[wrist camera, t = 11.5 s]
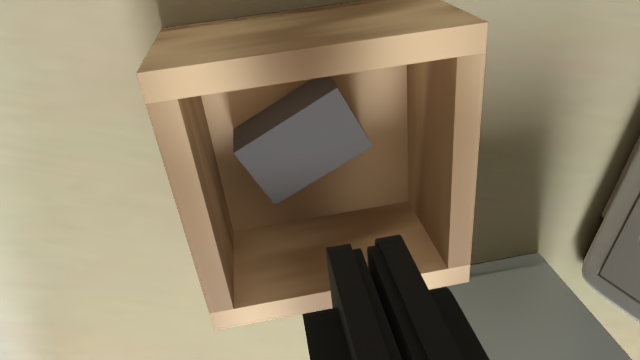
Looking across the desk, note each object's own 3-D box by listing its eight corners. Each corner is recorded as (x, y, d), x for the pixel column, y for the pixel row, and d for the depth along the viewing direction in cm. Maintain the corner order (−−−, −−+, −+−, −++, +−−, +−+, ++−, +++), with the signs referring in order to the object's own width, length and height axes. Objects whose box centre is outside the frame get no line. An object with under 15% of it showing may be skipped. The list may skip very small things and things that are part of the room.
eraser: (326, 69, 17) (337, 87, 15) (359, 123, 18) (372, 146, 17) (233, 128, 18) (233, 153, 16) (271, 177, 19) (275, 205, 17)
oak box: (423, -9, 17) (487, 22, 13) (421, 206, 21) (469, 282, 17) (162, 28, 16) (136, 73, 12) (218, 241, 21) (214, 330, 16)
